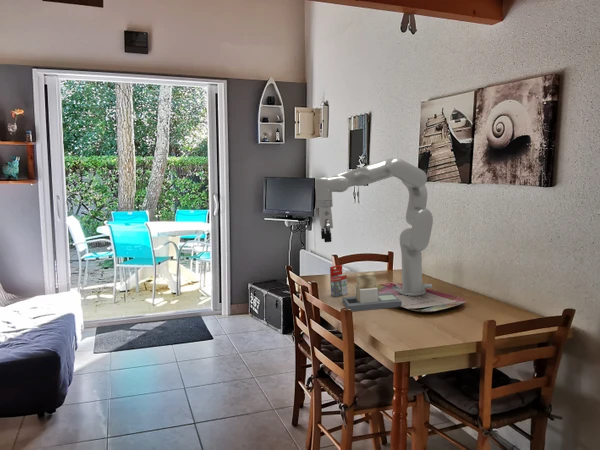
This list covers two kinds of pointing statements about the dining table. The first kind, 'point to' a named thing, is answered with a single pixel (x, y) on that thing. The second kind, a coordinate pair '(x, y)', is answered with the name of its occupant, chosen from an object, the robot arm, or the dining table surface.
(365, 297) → the pale grey u-shaped piece
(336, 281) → the ink box
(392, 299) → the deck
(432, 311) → the dining table surface
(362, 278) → the block
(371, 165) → the robot arm
